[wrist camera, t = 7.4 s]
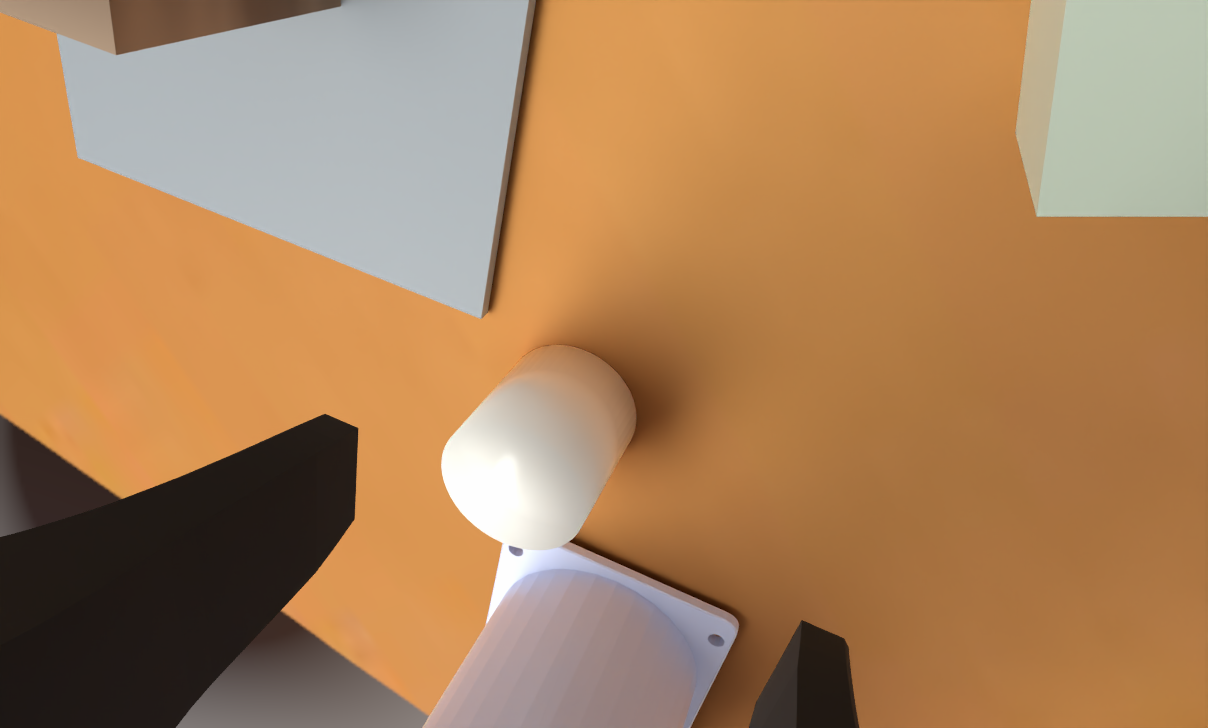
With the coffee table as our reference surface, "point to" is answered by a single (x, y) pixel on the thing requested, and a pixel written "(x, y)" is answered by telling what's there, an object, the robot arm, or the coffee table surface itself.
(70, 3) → the walnut block
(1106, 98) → the sage block
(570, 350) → the cream rounded cylinder
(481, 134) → the slate board
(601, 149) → the coffee table surface
